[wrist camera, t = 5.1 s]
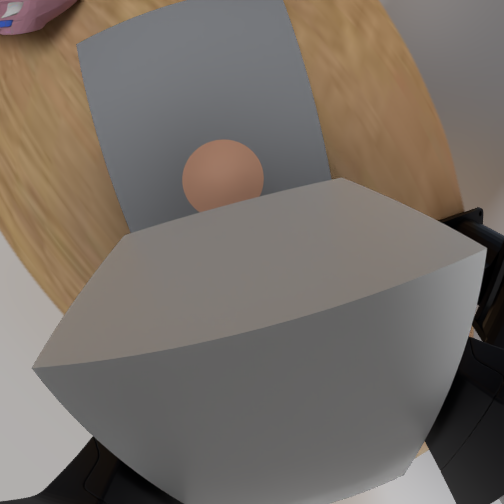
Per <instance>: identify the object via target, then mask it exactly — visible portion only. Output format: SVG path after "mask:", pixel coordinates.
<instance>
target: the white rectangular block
mask: <svg viewBox="0 0 504 504" xmlns="http://www.w3.org/2000/svg"><path fill="white" fill-rule="evenodd" d="M486 253H487V248H486V247H484V246H482V245H481V244H479V243H477V242H476V241H474V240H472V239H470V238H469V237H467V236H465V235H463V234H461V233H460V232H458V231H456V230H454V229H452V228H450V227H449V226H447V225H445V224H443V223H441V222H439V221H437V220H435V219H433V218H431V217H429V216H427V215H425V214H423V213H421V212H419V211H417V210H415V209H413V208H411V207H409V206H407V205H404V204H402V203H400V202H398V201H396V200H394V199H391V198H389V197H387V196H385V195H383V194H380V193H378V192H376V191H373V190H371V189H369V188H366V187H364V186H362V185H359V184H357V183H354V182H352V181H349V180H347V179H344V178H337V179H332V180H328V181H323V182H319V183H314V184H310V185H305V186H301V187H297V188H292V189H288V190H284V191H280V192H276V193H272V194H268V195H264V196H260V197H256V198H252V199H248V200H244V201H240V202H236V203H233V204H229V205H225V206H221V207H218V208H214V209H210V210H207V211H203V212H200V213H196V214H193V215H189V216H186V217H182V218H179V219H175V220H172V221H169V222H165V223H162V224H159V225H155V226H152V227H149V228H146V229H143V230H139V231H136V232H133V233H130V234H127V235H124V236H123V238H122V239H121V240H120V241H119V242H118V244H117V245H116V246H115V247H114V249H113V250H112V251H111V252H110V254H109V255H108V256H107V257H106V259H105V260H104V261H103V263H102V264H101V265H100V266H99V268H98V269H97V270H96V272H95V273H94V274H93V276H92V277H91V278H90V280H89V281H88V282H87V284H86V285H85V286H84V288H83V289H82V291H81V292H80V293H79V295H78V296H77V298H76V299H75V301H74V302H73V303H72V305H71V306H70V308H69V309H68V311H67V312H66V314H65V315H64V317H63V318H62V320H61V321H60V323H59V324H58V326H57V327H56V329H55V331H54V332H53V333H52V335H51V337H50V338H49V340H48V341H47V343H46V345H45V346H44V348H43V350H42V352H41V353H40V355H39V356H38V358H37V360H36V361H35V363H34V365H33V367H32V369H33V370H34V371H35V373H36V374H37V375H38V377H39V378H40V379H41V381H42V382H43V383H44V384H45V385H46V387H47V388H48V389H49V390H50V391H51V392H52V394H53V395H54V396H55V397H56V398H57V399H58V401H59V402H60V403H61V404H62V405H63V406H64V407H65V408H66V409H67V410H68V412H69V413H70V414H71V415H72V416H73V417H74V418H75V419H76V420H77V421H78V422H79V423H80V424H81V425H82V426H83V427H85V429H86V430H87V431H88V432H89V433H91V434H92V435H93V436H94V437H95V438H96V439H97V440H98V441H99V442H100V443H101V444H103V445H104V446H105V447H106V448H107V449H108V450H109V451H111V452H112V453H113V454H114V455H115V456H117V457H118V458H119V459H120V460H121V461H123V462H124V463H125V464H126V465H128V466H129V467H130V468H132V469H133V470H134V471H136V472H137V473H138V474H140V475H141V476H142V477H144V478H145V479H147V480H148V481H149V482H151V483H152V484H154V485H155V486H157V487H158V488H160V489H161V490H163V491H164V492H166V493H167V494H169V495H170V496H172V497H174V498H175V499H177V500H179V501H180V502H182V503H184V504H329V503H333V502H336V501H339V500H343V499H346V498H349V497H351V496H354V495H357V494H360V493H363V492H365V491H368V490H370V489H373V488H375V487H378V486H380V485H382V484H385V483H387V482H389V481H392V480H394V479H396V478H398V477H400V476H402V475H404V474H405V472H406V471H407V469H408V468H409V466H410V465H411V463H412V461H413V460H414V458H415V456H416V455H417V453H418V451H419V450H420V448H421V446H422V444H423V443H424V441H425V439H426V437H427V435H428V433H429V432H430V430H431V428H432V426H433V424H434V422H435V420H436V418H437V416H438V414H439V412H440V409H441V407H442V405H443V403H444V401H445V398H446V396H447V394H448V391H449V389H450V387H451V384H452V382H453V379H454V377H455V374H456V371H457V369H458V366H459V363H460V360H461V358H462V355H463V352H464V349H465V346H466V342H467V339H468V336H469V332H470V329H471V325H472V322H473V318H474V314H475V310H476V306H477V302H478V297H479V293H480V288H481V283H482V278H483V272H484V266H485V260H486Z"/></svg>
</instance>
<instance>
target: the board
mask: <svg viewBox="0 0 504 504" xmlns="http://www.w3.org/2000/svg"><path fill="white" fill-rule="evenodd" d="M76 45H77V51H78V56H79V62H80V67H81V72H82V77H83V81H84V86H85V90H86V94H87V99H88V103H89V107H90V111H91V114H92V118H93V122H94V126H95V129H96V133H97V136H98V140H99V143H100V146H101V150H102V153H103V156H104V159H105V163H106V166H107V169H108V172H109V175H110V178H111V181H112V184H113V186H114V189H115V192H116V195H117V198H118V201H119V203H120V206H121V209H122V211H123V214H124V217H125V219H126V222H127V224H128V227H129V229H130V232H131V233H133V232H136V231H139V230H143V229H146V228H149V227H152V226H155V225H159V224H162V223H165V222H169V221H172V220H175V219H179V218H182V217H186V216H189V215H193V214H196V213H200V212H203V211H207V210H210V209H214V208H218V207H221V206H225V205H229V204H233V203H236V202H240V201H244V200H248V199H252V198H256V197H260V196H264V195H268V194H272V193H276V192H280V191H284V190H288V189H292V188H297V187H301V186H305V185H310V184H314V183H319V182H323V181H328V180H332V179H331V174H330V169H329V164H328V159H327V154H326V149H325V144H324V140H323V135H322V131H321V127H320V122H319V118H318V114H317V110H316V106H315V102H314V98H313V94H312V90H311V87H310V83H309V79H308V76H307V72H306V69H305V65H304V62H303V59H302V55H301V52H300V49H299V46H298V43H297V39H296V36H295V33H294V30H293V27H292V24H291V21H290V19H289V16H288V13H287V10H286V7H285V5H284V2H283V0H186V1H182V2H179V3H175V4H172V5H169V6H165V7H162V8H159V9H156V10H153V11H150V12H148V13H145V14H142V15H139V16H137V17H134V18H132V19H129V20H127V21H124V22H122V23H119V24H117V25H115V26H113V27H110V28H108V29H106V30H104V31H102V32H100V33H97V34H95V35H93V36H91V37H89V38H87V39H86V40H84V41H82V42H80V43H78V44H76Z"/></svg>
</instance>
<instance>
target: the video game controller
mask: <svg viewBox="0 0 504 504" xmlns="http://www.w3.org/2000/svg"><path fill="white" fill-rule="evenodd" d="M76 1H77V0H0V34H2V35H14V34H23V33H28V32H32V31H36V30H39V29H42V28H43V27H44V26H45V24H46V23H47V22H49V21H50V20H52V19H54V18H55V17H57V16H58V15H60V14H61V13H63V12H64V11H65V10H67V9H68V8H69V7H71V6H72V5H73V4H74V3H75V2H76Z"/></svg>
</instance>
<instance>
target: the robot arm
mask: <svg viewBox="0 0 504 504" xmlns="http://www.w3.org/2000/svg"><path fill="white" fill-rule="evenodd" d="M439 222H441V223H443V224H445V225H447V226H449V227H450V228H452V229H454V230H456V231H458V232H460V233H461V234H463V235H465V236H467V237H469V238H470V239H472V240H474V241H476V242H477V243H479V244H481V245H482V246H484V247H486V248H487V253H486V260H485V266H484V272H483V278H482V283H481V288H480V293H479V297H478V302H477V305H479V307H478V310H477V312H476V314H475V316H474V318H473V322H472V326H473V327H474V329H475V330H476V332H477V333H478V335H479V337H480V338H481V340H482V341H483V342H482V341H479V340H477V339H474V338H472V337H470V338H469V336H468V339H467V342H466V346H465V349H464V352H463V355H462V358H461V360H460V363H459V366H458V369H457V371H456V374H455V377H454V379H453V382H452V384H451V387H450V389H449V391H448V394H447V396H446V398H445V401H444V403H443V405H442V407H441V409H440V412H439V414H438V416H437V418H436V420H435V422H434V424H433V426H432V428H431V430H430V432H429V433H428V435H427V437H426V439H425V442H426V444H427V446H428V448H429V450H430V452H431V454H432V455H433V457H434V459H435V461H436V463H437V465H438V467H439V469H440V470H441V473H442V475H443V477H444V479H445V481H446V483H447V485H448V487H449V489H450V491H451V493H452V495H453V497H454V500H455V502H456V504H490V503H492V502H494V501H496V500H497V499H500V501H501V503H502V504H504V236H503V235H502V234H500V233H498V232H496V231H494V230H492V229H490V228H488V227H486V226H484V225H483V209H481V208H479V207H477V208H475V209H472V210H469V211H466V212H463V213H461V214H458V215H455V216H452V217H449V218H446V219H444V220H441V221H439ZM0 504H184V503H182V502H180V501H179V500H177V499H175V498H174V497H172V496H170V495H169V494H167V493H166V492H164V491H163V490H161V489H160V488H158V487H157V486H155V485H154V484H152V483H151V482H149V481H148V480H147V479H145V478H144V477H142V476H141V475H140V474H138V473H137V472H136V471H134V470H133V469H132V468H130V467H129V466H128V465H126V464H125V463H124V462H123V461H121V460H120V459H119V458H118V457H117V456H115V455H114V454H113V453H112V452H111V451H109V450H108V449H107V448H106V447H105V446H104V445H103V444H101V443H100V442H99V441H98V440H97V439H96V438H95V437H94V436H93V437H92V438H91V439H90V441H89V442H88V443H87V444H86V445H85V447H84V448H83V449H82V450H81V451H80V453H79V454H78V455H77V456H76V457H75V458H74V459H73V461H72V462H71V463H70V464H69V465H68V466H67V467H66V468H65V469H64V470H63V471H62V472H61V473H60V474H59V475H58V476H57V477H56V479H54V481H52V482H51V483H50V484H49V486H48V487H47V488H45V489H44V490H43V491H42V492H40V493H39V494H37V495H35V496H32V497H28V498H23V499H17V500H9V501H1V502H0Z"/></svg>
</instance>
